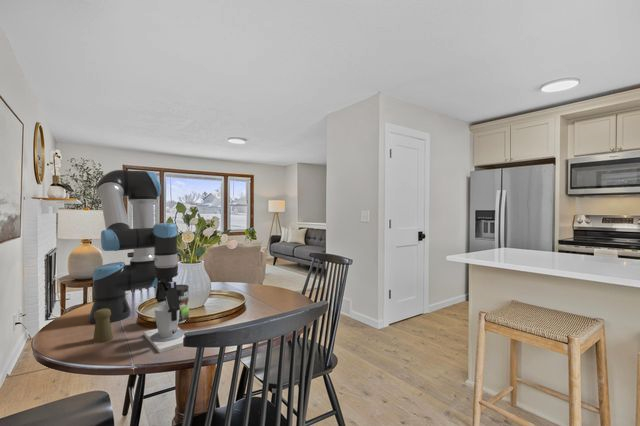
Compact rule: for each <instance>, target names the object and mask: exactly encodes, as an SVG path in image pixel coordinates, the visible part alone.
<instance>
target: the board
mask: <svg viewBox="0 0 640 426" xmlns="http://www.w3.org/2000/svg"><path fill="white" fill-rule="evenodd" d="M184 333H186V332H185V331H184V329H181V327H179V326H178V329H177V330H176V334H175V335H174V336H171V337H166V338H163V337H160V334H159V332H158V329H157V328H155V329H150V330H147V331H143V334H144V337H145V338H146V340H148V341H149V342H150V344H151V345H152V346H153V347H154V348H155V350H156V351H157V352H158V353H164V352H167V351H171V350H174V349H177V348H181V347H184V346H183V338H184Z"/></svg>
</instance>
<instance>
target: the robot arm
mask: <svg viewBox="0 0 640 426" xmlns="http://www.w3.org/2000/svg"><path fill="white" fill-rule="evenodd" d="M95 190H96V195H97V198H98V199H100V201H101V202H100V203H101V208H102V214H103V219H104V224H105V229H103V230H102V231H101V233H100V246H101V250H102V251H105V252H111V251H113V252H118V251H126V250H133V256H132V257H131V258H130V260H129V264H126V263H125V262H124V261H119V262H118V261H117V262H112V263H106V264H102V265H100V266H97V267H95V268H94V270H93V272H92V273H93V274H92V282H93V287H92V288H93V303H92V307H91V309H90V312H89V315H88V321H89V323H92V324H95V323H96V319H95V318H94V313H95V311H97V310H99V309H110V310H111V316H110V317H109V318H110V323H113V322H117V321H118V322H119V321H121V320H123V319H127V318H128V317H129V316H130V315H131V307H130V305H129V303H128V301H127V298H126V292H129V291H136V290H143V289H150V288H154V287H155V288H156V292H155V300H156V304H157V307H159V306H162V305H166V302H165V301H166V298H165V297H167V302H168V306H169V310H168V313H169V331H171V330H175V329H178V327H179V324H178V312H177V311H178V310H180V306H179V300H178V295H177V289H176V285H177V281H173V279H174V278H176V277H177V276H178V275H179V274H178V271H179V270H178V269H179V268H178V264H179V261H178V229H177V224H176V223H173V222H163V223H162V222H161V223H159V222H158V223H155V219H154V218H155V217H154V216H155V214H154V213H155V211H154V210H155V209H154V204H155V203H156V202H157V200H158V197H160V196H161V194H162V186H161V181H160V178H159V176H158V174H157V173H156V172H154V171H147V170H127V169H126V170H124V169H116V170H112V171H109V172H107V173H105V174H104V175H103V176H102V177H101V178H100V179H99V180H98V182H97V184H96V187H95ZM124 197H127V200H128V202H129V203H130V204H131V205H132V206H131V207H132V228H131V227H130V223H129V217H128V214H127V210H126V207H125V202H124ZM163 301H164V302H163Z"/></svg>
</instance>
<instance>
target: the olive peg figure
mask: <svg viewBox="0 0 640 426" xmlns="http://www.w3.org/2000/svg"><path fill="white" fill-rule="evenodd" d="M110 316H111V310H110V309H99V310H97V311H95V313H94V318H95V319H96V323H94V324H95V325H94V332H93V340H92V342H93V343H95V344H102V343H106V342H109V341H111V340H113V339H114V335H113V331H112V325H111V322H110V318H109V317H110Z"/></svg>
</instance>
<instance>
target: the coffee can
mask: <svg viewBox="0 0 640 426" xmlns="http://www.w3.org/2000/svg"><path fill="white" fill-rule="evenodd" d="M176 289H177V295H178V300H179V306H180V310H179V321H178V325H179V324H184V323H185V321H186V319H187V318H188V317H189V318H190V303H189V301H190V300H189V297H190V295H189V285H188V284H176ZM165 298H166V301H165V302H166V305H167V304H168V302H167V297H165ZM163 302H164V301H163ZM186 322H187V321H186Z"/></svg>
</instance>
